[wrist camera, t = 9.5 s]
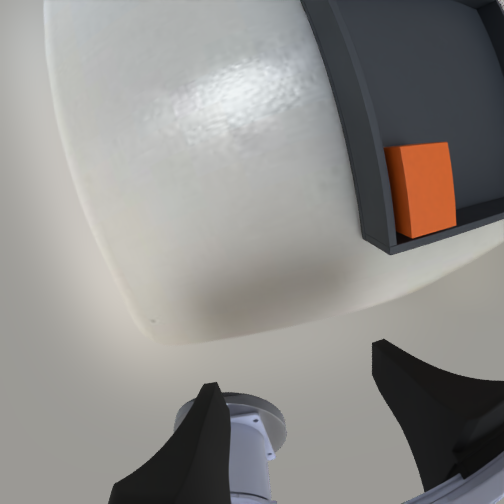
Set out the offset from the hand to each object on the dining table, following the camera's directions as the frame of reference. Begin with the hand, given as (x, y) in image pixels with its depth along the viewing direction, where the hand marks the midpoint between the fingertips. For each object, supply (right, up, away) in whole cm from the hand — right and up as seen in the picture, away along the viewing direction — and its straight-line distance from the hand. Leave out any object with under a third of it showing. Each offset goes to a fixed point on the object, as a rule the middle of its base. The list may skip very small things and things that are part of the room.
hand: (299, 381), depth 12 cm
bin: (+15, +20, +6) cm, 26 cm away
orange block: (+9, +11, +7) cm, 16 cm away
